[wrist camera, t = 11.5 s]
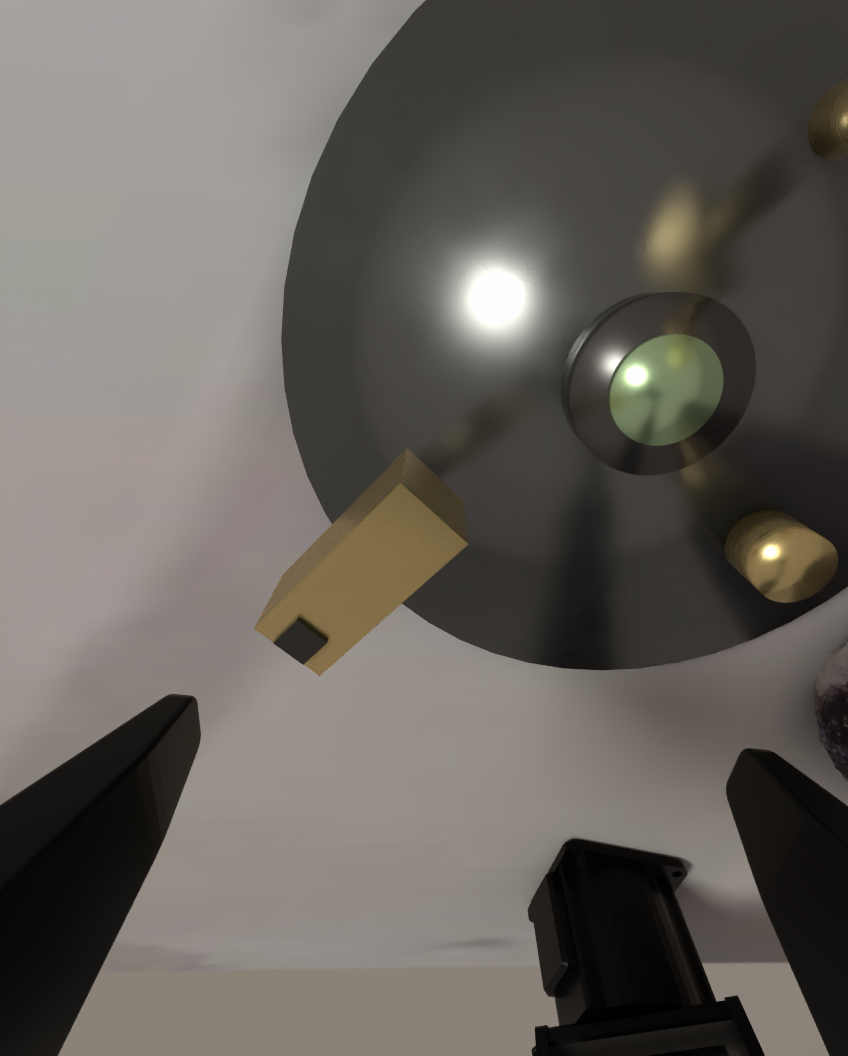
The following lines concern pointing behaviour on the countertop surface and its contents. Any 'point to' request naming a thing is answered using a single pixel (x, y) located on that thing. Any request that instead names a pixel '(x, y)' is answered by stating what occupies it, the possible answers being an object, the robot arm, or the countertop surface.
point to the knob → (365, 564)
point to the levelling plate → (590, 317)
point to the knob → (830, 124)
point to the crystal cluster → (834, 707)
